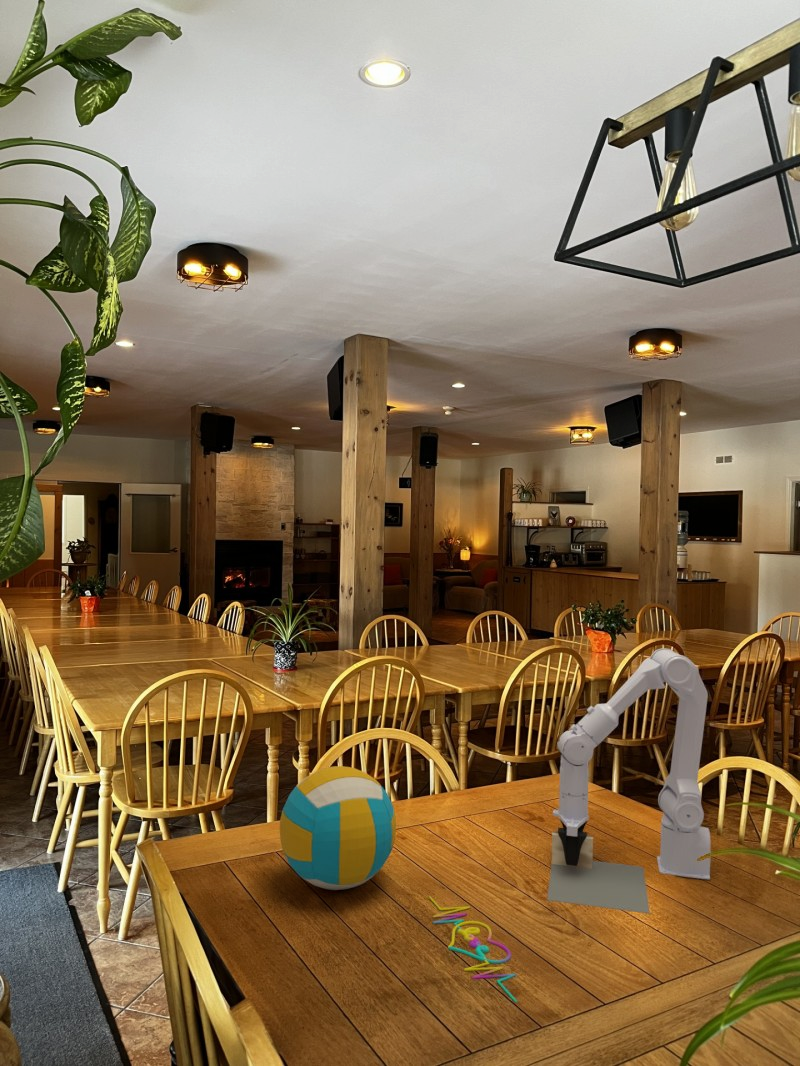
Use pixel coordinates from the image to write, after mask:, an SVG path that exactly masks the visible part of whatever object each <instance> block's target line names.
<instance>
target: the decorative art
mask: <svg viewBox="0 0 800 1066" xmlns="http://www.w3.org/2000/svg"><path fill="white" fill-rule="evenodd" d="M428 899H430V900H431V902H432V903H433V904H434V906H435V907H436V909H438V910H439V911H446V912H442V913H438V914H434V915H432V917H431V918H433V919H434V918H435V919H436V918H437V919H438V920H434V921H432V925H435V924H450V923H453V925H454V927H453V929H452V931H451V942H450V944H448V946H447V949H448V950H450V951H453V952H457V953H461V954H463V955H467V956H468V957H471V958H473V959H476V960H478V961H481V962H483V963H481V964H476V965H472V966H470V967H466V968H463V972H475V971H476V972H477V971H485V972H483V973H479V974H475V975H473V976H472V980H479V979H492V978H493V979H495V978H499V979H497V980H496V984H498V985H499V986H500V987H501V988H502V989H503V991H504V992H505V993H506V994H507V995H508V996H509V998H511V1000H513V1002H514V1003H515V1004H517V1003H518V1000H517V999H516V998H515V997H514V996H513V995H512V994H511V992H510V990H508V989H507V987H505V986H504V985H503V983H501V982H503V981H506V980H509V979H513V978H514V977H516V976H517V973H507V974H504V973H503V974H493V973H495V972H498V971H500V970H503V968H504V967H503V966H495V967H494V966H491V967H485V966H489V965H490V964H494V965H498V964H504V963H507V962H509V960H510V959H511V958H512V953H511V951H510V949H509V948H508V947H507V946H505V945H504V944H502V943H500V942H498V941H495V940H492V936H493V933H492V929H491V927H490V926H489V925H487V924H486V923H484V922H481V921H476V920H468V921H467V920H466V921H465V919H459V918H461V917H462V918H463V917H465V916H467V915H468V913H467V912H466V913H458V912H461V911H465V910H468V909H470V908H471V906H469V905H468V906H456V907H443V908H442V907H440V905H438V903H437V902H436V901H435V900H434V899H433V898H432V896H431V895H429V896H428ZM439 918H442V919H439ZM457 918H458V919H457ZM467 925H478V926H481V927H484V928H486V930H487V931H488V937H487V939H486V940H487V942H488V943H489V944H492V945H494V946H497V947H499V948H501V949H502V950H504V952H506V954H507V957H505V958H503V959H495V960H494V959H489V958H487V956H486V955H485V954H487V953H488V954H489V951H490V948H489V946H487V945H484V944H483V945H482V943H481V942H480V940H479V938H478V937H476V936H478V935H480V934H481V930H480V928H479V927H475V926H470V927H467V928H465V929H462V928H461V927H462V926H467ZM456 933H457V934H458V935H461V936H462V938H463V940H464V941H465V942H467V943H469V945H468V946H469V947H470V948H472V949H475V954H474V953H473V952H470V951H467V950H465V949H462V948H458V947H454V945H455V942H456V940H455V939H456V938H455V937H456ZM490 974H491V975H490Z"/></svg>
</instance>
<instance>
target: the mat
mask: <svg viewBox="0 0 800 1066" xmlns="http://www.w3.org/2000/svg"><path fill="white" fill-rule="evenodd" d="M645 877H646V875H645V871H644V866H640V865H639V866H638V865H631V864H623V863H615V862H614V863H613V862H606V861H597V860H592V869H589V868H581V867H572V866H564V865H556V864H552V863H551V866H550V874H549V881H548V887H547V888H548V889H547V898H546V900H547V901H549V902H550V901H551V902H559V903H565V904H566V903H567V904H571V905H572V904H574V905H582V906H588V907H596V908H603V909H604V908H605V909H610V910H620V911H627V912H635V913H641V914H649V915H650V906H649V899H648V891H647V886H646V885H647V884H646V878H645Z"/></svg>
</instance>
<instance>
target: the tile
mask: <svg viewBox="0 0 800 1066" xmlns="http://www.w3.org/2000/svg"><path fill="white" fill-rule="evenodd" d="M551 836H552V837H551V865H552V864H556V865H564V866H571V865H566V861H565V855H564V849H563V844H562V841H561V839H560V837H559V835H558V830H552V834H551ZM593 851H594V835H592V834H587V837H586V839H585V840H584V842H583V844H582V847H581V850H580V855H579V860H578V864H577V866H572V867H581V868H589V869H592V861H594V860H593V858H594V855H593V854H594V852H593Z"/></svg>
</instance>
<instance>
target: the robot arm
mask: <svg viewBox="0 0 800 1066" xmlns="http://www.w3.org/2000/svg"><path fill="white" fill-rule="evenodd" d="M664 683H666V684H667V686H669V687H670V688H671V690H673V692H674V693H675V695H677V697H678V698H679V699H678V706H677V715H676V723H675V732H674V739H673V747H672V756H671V764H670V771H669V774H668V775H667V777H665V779H664V784H663V788H662V789H661V790H660V792H659V794H658V798H657V802H658V806H659V808H660V810H661V811H662V813H663V815H662V818H661V820H660V853H659V855H658V856H656V860H657V866H658V867H657V868H658V872H659V873H660V874H664V875H673V876H675V877H676V876H677V877H683V878H690V879H691V878H692V879H699V880H700V879H701V880H711V876H710V875H711V857H710V858H707V859H704V860H701V861H697V859H698V858H700V857H701V856H704V855H706V854H708V853H710V854H711V833H710V832H711V831H710V829H709V828H708V827H704V826H701V825H702V823H703V821H704V818H705V813H704V809H703V806H702V793H701V789H700V786H699V782H698V779H699V778H698V777H699V770H700V762H701V754H702V747H703V746H702V745H703V738H704V730H705V729H704V727H705V721H706V713H707V704H708V698H709V696H708V690H707V688H706V685H705V684H704V682H703V679H702V677H701V675H700V671H699V667H698V666H697V665H696V664H695V663H693V661H692V660H691V659H689V657H687V656H685V655H681V654H679V653H677V652H675V651H674V650H673V649H670V648H665V647H663V648H658V649H656V650H655V651H653V652H652V654H651V655H650V657H647V658H645V659H644V660H643V661H642V662H641V664H640V665H639V667H638V668H636V670H635V672H634V673H633V674H631V676H630V677H629V678H628V679H627V680H626V681H625V683H624V684H622V686H621V687H620V688H619V689H618V690H617V691H616V693H614V695H612V697H611V698H610V699H609V700H608V701H607V702H606V703H596V705H595V706H594V707H593V706H592V705H590V706H589V707H588V708H586V711H587V714H585V715H584V716H583V717H582V718H581V719H580V720H579V721H578V722H577V723H576V724H574V723H573V724H572V725H571V726H570V730H566V731H565V732H563V733H562V734H561V735H560V736H559V741H557V745H556V746H557V748H558V750H559V752H560V753H561V755H560V766H559V787H558V788H559V791H558V792H559V794H558V797H559V798H558V799H559V800H558V809H553V811H552V816H553V817H557V818H558V819H559V821H560V823H561V825H562V827H560V826H559V827H557V831H558V835H559V837H560V839H561V841H562V844H563V849H564V855H565V861H566V865H571V866H577V864H578V860H579V855H580V850H581V847H582V844H583V842H584V840H585V839H586V837H587V835H588V832H587V831H584V829H585V827H586V824H587V822H588V820H590V819H589V818H590V816H589V778H590V777H589V773H590V770H589V761H591V760H592V758H593V754H594V749H595V748H596V747H597V746H599V745H600V744H601V743H602V742H603V741H604V740H605V738H607V737H608V736H609V735H610V734H611V733H612V732H613V731H614V730H615V729H616V728H617V727H618V725H619V719H620V718H619V717H620V716H621V714H623V712H624V711H626V710H627V709H629V707H631V706H632V705H633V704H634V703H635V702H636V701H637V700H638V699H639V698H640V697H642V695H644V694H645V693H646V692H647V691H650V690H661V689H662V690H663V689H666V686H665V684H664Z"/></svg>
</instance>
